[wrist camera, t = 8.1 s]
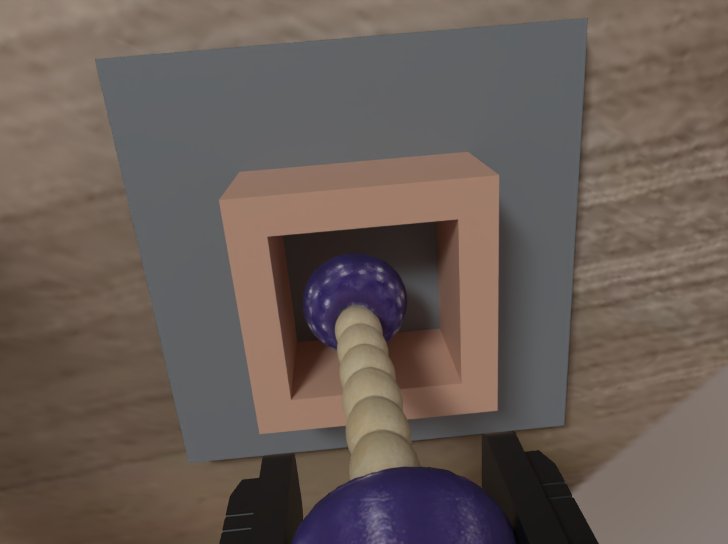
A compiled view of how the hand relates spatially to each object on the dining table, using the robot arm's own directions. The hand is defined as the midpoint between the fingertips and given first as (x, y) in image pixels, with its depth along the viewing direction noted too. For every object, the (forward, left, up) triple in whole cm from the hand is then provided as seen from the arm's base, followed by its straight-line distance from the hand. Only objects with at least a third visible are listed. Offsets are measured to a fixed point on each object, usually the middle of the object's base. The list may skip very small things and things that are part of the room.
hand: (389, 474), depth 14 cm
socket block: (0, 0, -16) cm, 16 cm away
